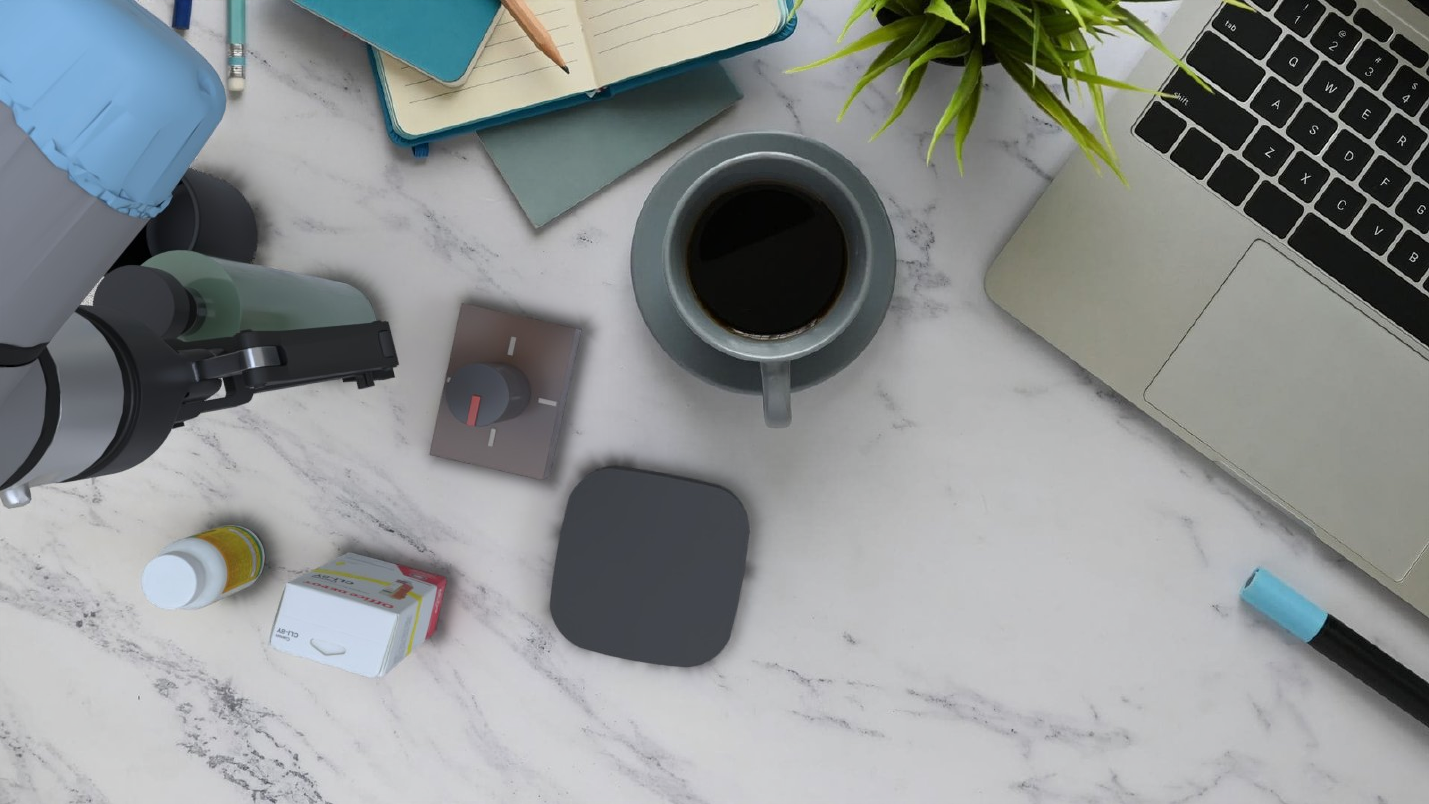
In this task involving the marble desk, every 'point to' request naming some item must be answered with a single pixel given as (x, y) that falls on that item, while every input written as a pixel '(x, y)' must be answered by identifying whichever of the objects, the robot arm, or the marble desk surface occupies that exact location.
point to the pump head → (146, 298)
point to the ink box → (357, 614)
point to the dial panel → (548, 370)
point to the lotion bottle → (257, 297)
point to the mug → (197, 223)
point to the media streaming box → (649, 566)
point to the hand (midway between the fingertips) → (279, 382)
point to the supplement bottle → (203, 568)
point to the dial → (487, 393)
